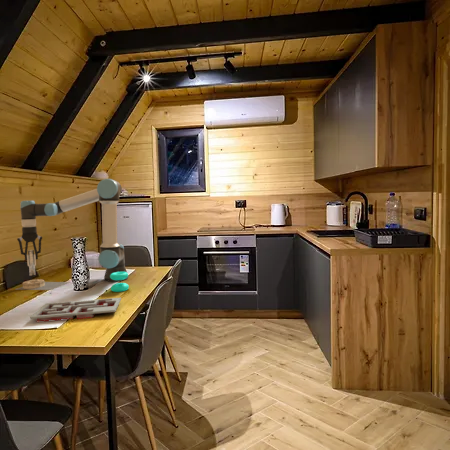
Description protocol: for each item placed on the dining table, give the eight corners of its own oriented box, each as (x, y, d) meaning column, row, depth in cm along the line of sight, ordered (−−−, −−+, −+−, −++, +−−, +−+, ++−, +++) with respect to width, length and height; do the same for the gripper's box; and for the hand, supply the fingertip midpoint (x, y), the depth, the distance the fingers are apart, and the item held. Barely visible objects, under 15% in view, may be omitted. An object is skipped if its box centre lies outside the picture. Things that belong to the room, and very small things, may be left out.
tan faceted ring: (48, 284, 209) (48, 279, 209) (35, 288, 199) (35, 283, 198) (32, 284, 211) (32, 279, 211) (19, 288, 201) (18, 283, 200)
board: (70, 284, 213) (70, 282, 213) (51, 292, 195) (51, 289, 195) (37, 284, 217) (36, 281, 217) (15, 291, 200) (14, 289, 199)
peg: (36, 274, 206) (34, 249, 205) (32, 275, 203) (31, 250, 202) (32, 274, 206) (30, 249, 205) (28, 275, 203) (26, 250, 202)
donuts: (115, 271, 200) (131, 271, 198) (116, 287, 201) (132, 288, 199) (106, 274, 190) (122, 275, 188) (107, 292, 191) (123, 292, 189)
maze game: (30, 324, 145) (29, 317, 145) (46, 309, 164) (46, 303, 164) (115, 316, 150) (115, 309, 150) (121, 303, 170) (121, 297, 170)
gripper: (44, 225, 209) (46, 262, 211) (13, 226, 202) (16, 265, 203) (44, 226, 203) (47, 264, 205) (13, 227, 195) (16, 268, 197)
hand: (31, 265), depth 204 cm, fingers closed on peg, 3 cm apart
